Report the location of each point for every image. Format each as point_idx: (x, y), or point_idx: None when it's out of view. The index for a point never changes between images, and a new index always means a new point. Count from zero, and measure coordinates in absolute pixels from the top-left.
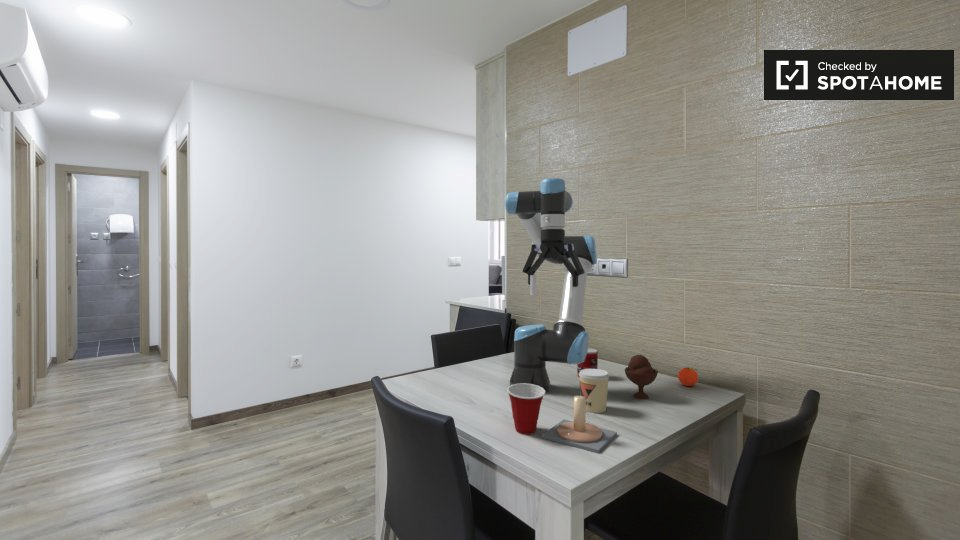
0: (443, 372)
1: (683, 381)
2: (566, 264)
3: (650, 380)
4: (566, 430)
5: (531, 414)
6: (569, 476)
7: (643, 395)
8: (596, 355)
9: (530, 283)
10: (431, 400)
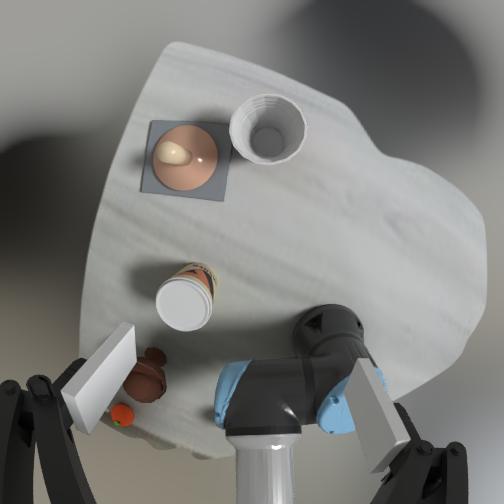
0: (460, 331)
1: (125, 407)
2: (57, 476)
3: None
4: (200, 145)
5: (251, 119)
6: (174, 55)
7: (149, 353)
8: None
9: (390, 401)
10: (443, 204)
